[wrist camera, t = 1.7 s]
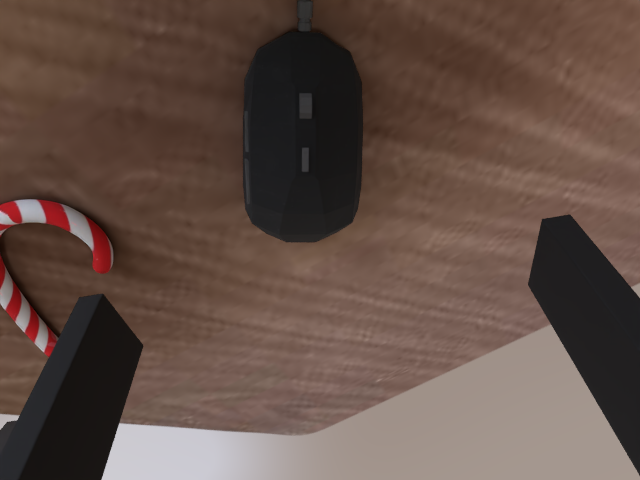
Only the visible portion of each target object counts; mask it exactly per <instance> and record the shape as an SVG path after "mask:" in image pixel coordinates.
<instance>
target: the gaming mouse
mask: <svg viewBox="0 0 640 480" xmlns="http://www.w3.org/2000/svg"><path fill="white" fill-rule="evenodd" d="M312 8H313V1H311V0H298V1H297V17H298V18H300V22H298V30H299V31H300V32H288V33H287V34H285V35H283V36H281V37H279V38H277V39H276V40H274V41H272V42H270V43H268V44H267V45H265V46H263V47H261V48H259V49H258V50H257V52H256V55H255V57H254V59H253V61H252V64H251V66H250V68H249V70H248V73H247V75H246V77H245V83H244V115H243V188H244V199H245V209H246V211H247V213H248V216H249V218H250V220H251V222H252V224H254V225H255V226H257V227H258V228H260V229H261V230H262V231H264V232H265V233H267V234H269V235H271V236H274V237H276V238H278V239H280V240H283V241H285V242H317V241H319V240H321V239H324V238H326V237H328V236H330V235H332V234H334V233H336V232H338V231H340V230H341V229H343V228H344V227H346V226H348V225H349V224H351V223H352V222H353V219H354V217H355V215H356V212H357V210H358V204H359V197H360V190H361V177H362V142H363V109H362V82H361V79H360V77H359V74H358V71H357V69H356V66H355V64H354V61H353V59H352V56H351V54H350V52H349V51H348V50H346V49H344V48H342V47H340V46H339V45H337V44H335V43H334V42H332V41H331V40H330V39H328V38H327V37H326V36H324V35H323V34H321V33H313V32H309V31H311V22H310V18H312Z"/></svg>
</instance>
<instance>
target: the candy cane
mask: <svg viewBox="0 0 640 480" xmlns="http://www.w3.org/2000/svg"><path fill="white" fill-rule="evenodd" d="M27 222H38V223H46V224H52V225H55V226H58V227H60V228H63V229H65V230H67V231H69V232H71V233H72V234H74V235H76V236H77V237H79V238H80V239H82V240H83V241H84V242H85V243H86V244H87V245H88V246H89V247H90V248H91V250H92V252H93V269H94V270H95V271H96V272H98V273H102V274H103V273H107V272H108V271H110V269H111V267H112V265H113V248H112V245H111V242H110V241H109V239H108V237H107V235H106V234H105V233H104V232H103V230H102V229H101V228H100V227H99V226H98V225H97V224H96V223H94V222H93V221H92V220H90V219H89V218H88V217H86V216H85V215H83V214H82V213H80V212H78V211H76V210H75V209H73V208H71V207H69V206H66V205H63V204H60V203H56V202H52V201H46V200H36V199H26V200H17V201H11V202H7V203H4V204H1V205H0V237H1V235H2V233H3V232H4V231H5V230H6V229H7V228H9V227H11V226H13V225H16V224H20V223H27ZM0 304H1V305H2V307H3V308H4V309H5V310H6V312H7V313H8V314H9V315H10V317H11V318H12V319H13V320H14V321H15V322H16V324H17V325H18V326H19V327H20V328H21V329H22V331H23V332H24V333H25V334H26V335H27V336H28V337H29V338H30V339H31V340H32V341H33V342H34V343H35V344H36V345H37V346H38V347H39V348H40V349H41V350H42V351H43V352H44V353H45V354H46V355H47V356H48V357H50V355H51V353H52V351H53V349H54V347H55V345H56V343H57V341H58V339H59V338H58V337H57V336H56V335H55V334H54V333H53V332H52V331H51V330H50V328H49V327H48V326H47V325H46V324H45V323H44V322H43V320H42V319H41V318H40V317H39V316H38V314H37V313H36V312H35V310H34V309H33V308H32V307H31V305H30V304H29V303H28V301H27V300H26V299H25V297H24V296H23V294H22V293H21V292H20V290H19V289H18V287H17V286H16V284H15V283H14V281H13V280H12V278H11V276H10V275H9V273H8V271H7V269H6V267H5V265H4V263H3V260H2V257H1V254H0Z"/></svg>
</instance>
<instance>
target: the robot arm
mask: <svg viewBox="0 0 640 480" xmlns="http://www.w3.org/2000/svg"><path fill="white" fill-rule="evenodd" d="M528 286H529V287H530V289H531V291H532V293H533V294H534V296H535V298H536V299H537V301H538V303H539V304H540V306H541V308H542V310H543V311H544V313H545V315H546V316H547V318H548V320H549V322H550V323H551V325H552V327H553V328H554V330H555V332H556V333H557V335H558V337H559V338H560V340H561V342H562V344H563V345H564V347H565V349H566V351H567V352H568V354H569V355H570V357H571V359H572V361H573V362H574V364H575V366H576V368H577V369H578V371H579V373H580V374H581V376H582V378H583V379H584V381H585V383H586V385H587V386H588V388H589V390H590V391H591V393H592V395H593V396H594V398H595V400H596V402H597V403H598V405H599V407H600V408H601V410H602V412H603V414H604V415H605V417H606V419H607V420H608V422H609V424H610V426H611V427H612V429H613V431H614V432H615V434H616V436H617V437H618V439H619V441H620V443H621V444H622V446H623V448H624V449H625V451H626V453H627V455H628V456H629V458H630V460H631V461H632V463H633V465H634V467H635V468H636V470H637V472H638V473H639V475H640V298H639V297H638V295H637V294H636V293H635V292H634V291H633V290H632V288H631V287H630V286H629V285H628V283H627V282H626V281H625V280H624V279H623V277H622V276H621V275H620V274H619V273H618V271H617V270H616V269H615V268H614V267H613V265H612V264H611V263H610V262H609V261H608V259H607V258H606V257H605V256H604V255H603V253H602V252H601V251H600V250H599V249H598V247H597V246H596V245H595V244H594V243H593V241H592V240H591V239H590V238H589V237H588V235H587V234H586V233H585V232H584V231H583V229H582V228H581V227H580V226H579V225H578V223H577V222H576V221H575V220H574V219H573V217H572V216H571V215H564V216H558V217H552V218H546V219H542V222H541V227H540V231H539V236H538V241H537V245H536V250H535V255H534V259H533V264H532V268H531V273H530V278H529V282H528ZM142 349H143V344H142V343H141V342H140V340H139V339H138V338H137V337H136V335H135V334H134V333H133V332H132V330H131V329H130V328H129V326H128V325H127V324H126V323H125V321H124V320H123V319H122V317H121V316H120V315H119V314H118V312H117V311H116V310H115V308H114V307H113V306H112V305H111V303H110V302H109V301H108V300H107V298H106V297H105V296H104V294H97V295H91V296H85V297H79V299H78V301H77V303H76V305H75V307H74V309H73V311H72V313H71V315H70V317H69V319H68V321H67V323H66V325H65V327H64V329H63V331H62V333H61V335H60V337H59V339H58V341H57V343H56V345H55V347H54V349H53V351H52V353H51V355H50V357H49V359H48V360H47V362H46V364H45V366H44V368H43V370H42V372H41V374H40V376H39V378H38V380H37V382H36V384H35V386H34V388H33V390H32V392H31V394H30V396H29V398H28V400H27V402H26V404H25V406H24V408H23V410H22V412H21V414H20V416H19V418H18V420H17V421H11V422H7V423H6V424H5V425H4V426H3V428H2V429H1V430H0V480H101V479H102V476H103V473H104V469H105V466H106V463H107V460H108V457H109V453H110V450H111V447H112V443H113V441H114V438H115V434H116V431H117V428H118V425H119V422H120V418H121V415H122V412H123V409H124V406H125V403H126V399H127V396H128V393H129V390H130V387H131V384H132V380H133V377H134V374H135V371H136V368H137V364H138V361H139V358H140V355H141V352H142Z"/></svg>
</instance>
